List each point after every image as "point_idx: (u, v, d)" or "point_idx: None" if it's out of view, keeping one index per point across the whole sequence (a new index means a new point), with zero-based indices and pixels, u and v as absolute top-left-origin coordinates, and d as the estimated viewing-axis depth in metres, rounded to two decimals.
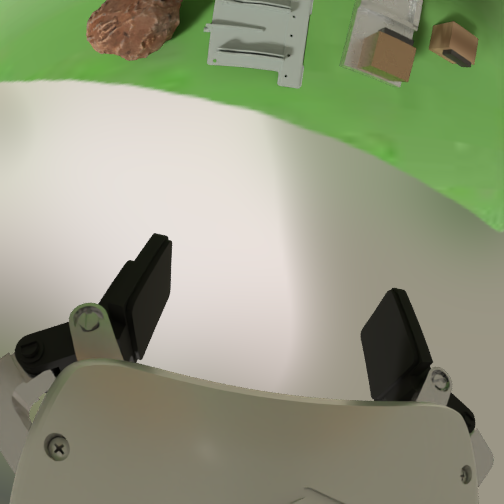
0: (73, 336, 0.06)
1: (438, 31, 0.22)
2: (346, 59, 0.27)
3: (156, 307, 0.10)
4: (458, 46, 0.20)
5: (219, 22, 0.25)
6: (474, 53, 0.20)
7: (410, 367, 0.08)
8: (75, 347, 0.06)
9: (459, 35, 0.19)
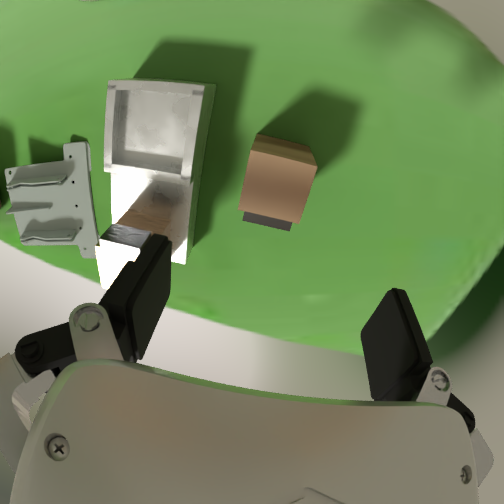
0: (73, 336, 0.06)
1: None
2: None
3: (156, 307, 0.10)
4: (260, 201, 0.20)
5: (16, 205, 0.25)
6: (302, 201, 0.20)
7: (410, 367, 0.08)
8: (75, 347, 0.06)
9: (264, 177, 0.19)
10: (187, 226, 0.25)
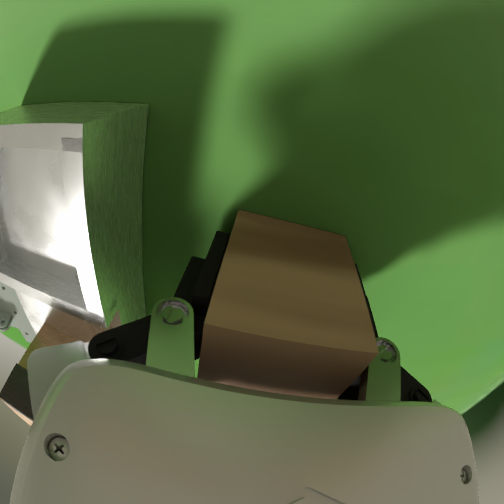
0: (152, 323, 0.07)
1: None
2: None
3: None
4: None
5: None
6: (328, 398, 0.08)
7: None
8: (150, 334, 0.07)
9: (244, 370, 0.07)
10: None
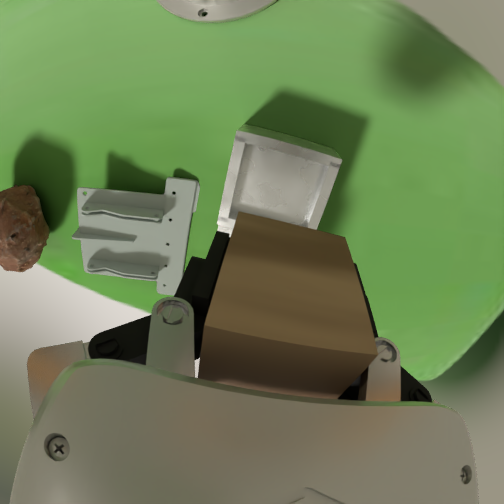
0: (152, 323, 0.07)
1: None
2: None
3: None
4: None
5: (86, 230, 0.26)
6: None
7: None
8: (150, 334, 0.07)
9: (244, 371, 0.07)
10: None
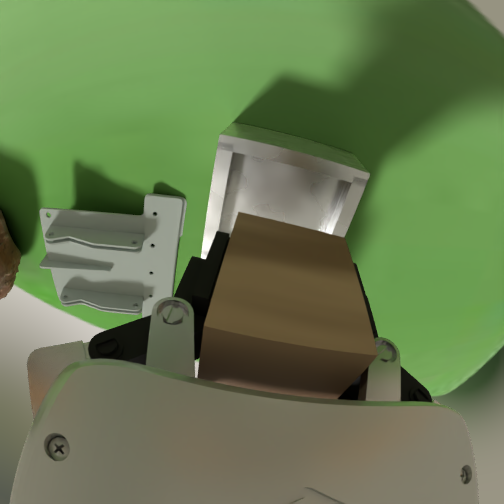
0: (152, 323, 0.07)
1: None
2: None
3: None
4: None
5: (55, 257, 0.20)
6: None
7: None
8: (150, 334, 0.07)
9: (244, 372, 0.07)
10: None
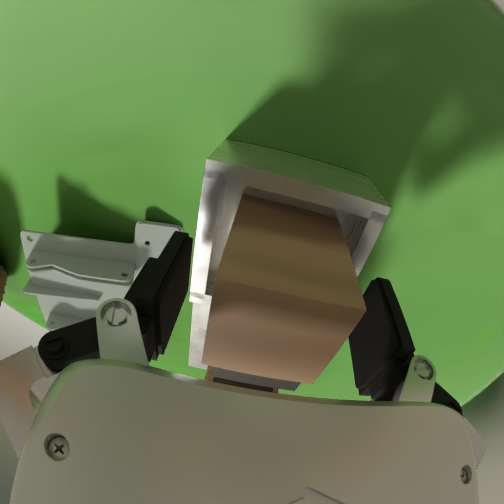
0: (98, 329, 0.06)
1: None
2: (190, 360, 0.21)
3: (177, 302, 0.10)
4: (242, 357, 0.10)
5: (40, 282, 0.18)
6: (323, 360, 0.10)
7: (392, 355, 0.08)
8: (99, 340, 0.06)
9: (248, 326, 0.09)
10: None
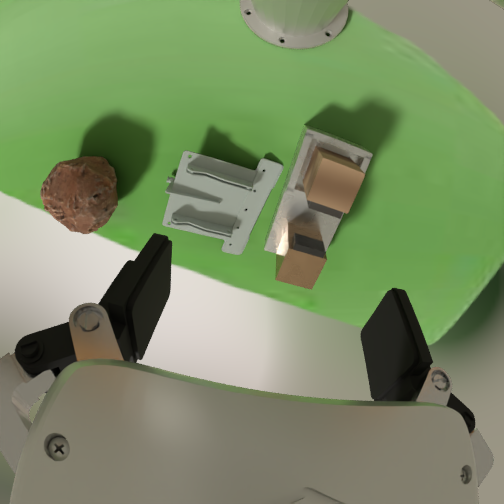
0: (73, 336, 0.06)
1: (313, 160, 0.29)
2: (266, 245, 0.38)
3: (156, 307, 0.10)
4: (323, 194, 0.27)
5: (179, 187, 0.34)
6: (352, 198, 0.27)
7: (410, 367, 0.08)
8: (75, 347, 0.06)
9: (329, 177, 0.26)
10: (331, 239, 0.36)
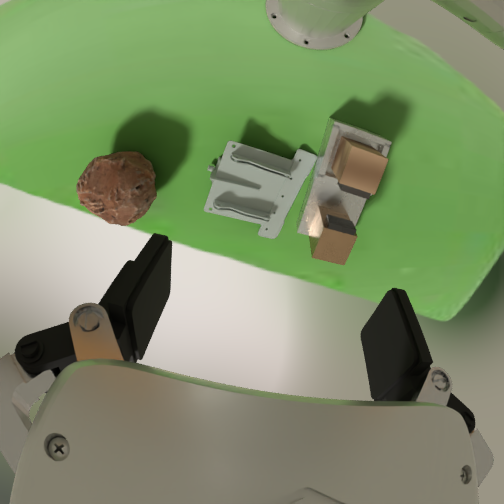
0: (73, 336, 0.06)
1: (341, 148, 0.31)
2: (299, 227, 0.40)
3: (156, 307, 0.10)
4: (353, 178, 0.29)
5: (222, 175, 0.37)
6: (378, 180, 0.29)
7: (410, 367, 0.08)
8: (75, 347, 0.06)
9: (358, 163, 0.28)
10: (357, 219, 0.39)
